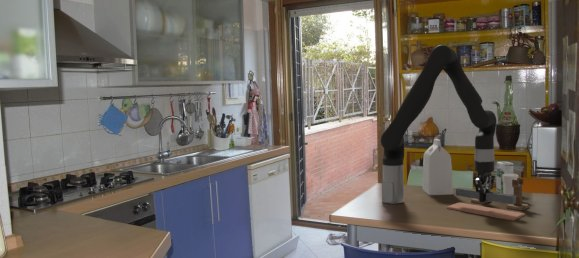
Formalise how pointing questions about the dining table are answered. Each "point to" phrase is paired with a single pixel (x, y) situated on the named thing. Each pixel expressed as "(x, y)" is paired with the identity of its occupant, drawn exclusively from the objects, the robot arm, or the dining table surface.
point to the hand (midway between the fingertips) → (484, 201)
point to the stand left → (478, 199)
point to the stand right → (518, 195)
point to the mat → (486, 211)
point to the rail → (486, 195)
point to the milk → (437, 170)
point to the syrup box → (503, 169)
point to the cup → (508, 183)
